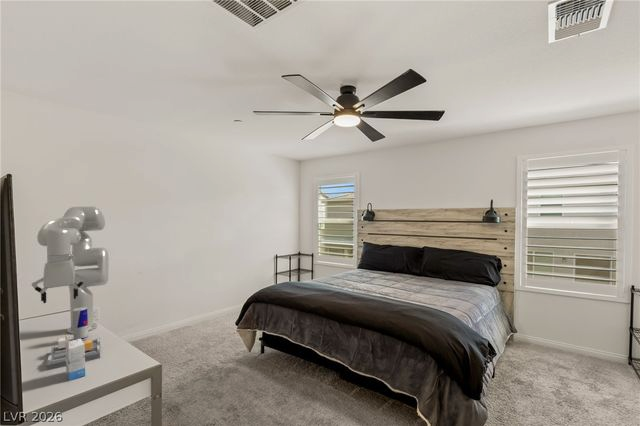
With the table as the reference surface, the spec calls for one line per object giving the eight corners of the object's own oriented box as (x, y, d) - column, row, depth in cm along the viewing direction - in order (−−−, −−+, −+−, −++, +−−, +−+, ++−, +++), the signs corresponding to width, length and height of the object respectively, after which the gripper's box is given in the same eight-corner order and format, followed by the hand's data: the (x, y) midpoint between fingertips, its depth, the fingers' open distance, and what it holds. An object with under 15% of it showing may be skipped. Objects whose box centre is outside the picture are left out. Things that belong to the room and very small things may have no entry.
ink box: (85, 376, 117) (84, 336, 117) (69, 381, 114) (67, 340, 114) (82, 368, 123) (81, 330, 123) (65, 373, 120) (64, 334, 120)
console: (52, 352, 139) (52, 345, 139) (100, 342, 148) (99, 336, 148) (46, 370, 122) (46, 362, 122) (100, 358, 132) (99, 350, 132)
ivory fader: (59, 347, 138) (59, 338, 138) (67, 346, 139) (67, 336, 139) (58, 351, 134) (58, 341, 134) (66, 349, 136) (66, 340, 136)
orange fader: (84, 350, 135) (84, 340, 135) (92, 348, 136) (92, 339, 136) (84, 353, 131) (83, 344, 131) (92, 351, 133) (92, 342, 133)
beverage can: (80, 342, 149) (79, 310, 149) (70, 341, 150) (69, 310, 150) (91, 337, 155) (90, 307, 154) (81, 337, 156) (80, 306, 156)
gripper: (85, 256, 139) (86, 295, 139) (32, 260, 129) (33, 302, 129) (85, 257, 133) (86, 298, 133) (29, 262, 123) (30, 306, 123)
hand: (60, 300), depth 131 cm, fingers open, 9 cm apart
